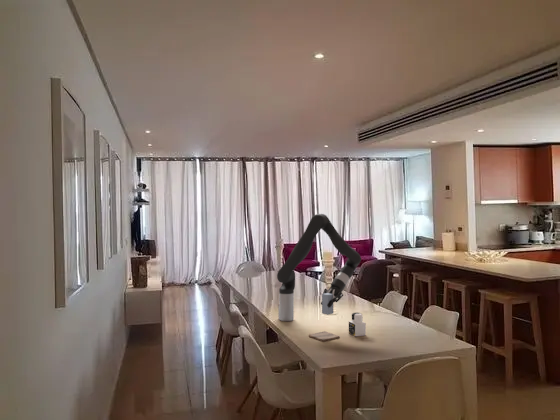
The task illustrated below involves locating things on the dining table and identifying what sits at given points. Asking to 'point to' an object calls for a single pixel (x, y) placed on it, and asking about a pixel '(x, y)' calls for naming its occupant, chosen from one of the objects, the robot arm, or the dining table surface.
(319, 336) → the board
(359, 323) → the medicine bottle
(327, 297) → the block
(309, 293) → the dining table surface
